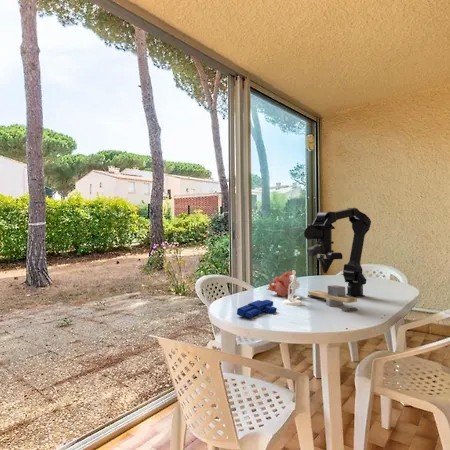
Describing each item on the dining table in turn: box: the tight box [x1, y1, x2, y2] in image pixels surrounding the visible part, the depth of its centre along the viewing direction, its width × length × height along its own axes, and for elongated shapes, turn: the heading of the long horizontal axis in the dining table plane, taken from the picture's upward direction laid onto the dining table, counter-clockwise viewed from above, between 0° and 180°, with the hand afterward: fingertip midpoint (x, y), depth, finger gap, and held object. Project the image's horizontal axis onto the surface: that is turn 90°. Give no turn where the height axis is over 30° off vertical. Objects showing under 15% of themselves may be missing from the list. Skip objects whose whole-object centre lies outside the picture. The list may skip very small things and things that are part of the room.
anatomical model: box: [266, 270, 297, 297], centre depth 170 cm, size 10×12×15 cm
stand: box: [307, 294, 359, 313], centre depth 152 cm, size 7×29×2 cm, turn 17°
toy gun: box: [236, 299, 277, 319], centre depth 139 cm, size 4×22×10 cm
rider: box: [327, 285, 347, 297], centre depth 148 cm, size 4×7×4 cm, turn 17°
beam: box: [307, 290, 358, 304], centre depth 152 cm, size 5×30×2 cm, turn 17°
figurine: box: [282, 269, 303, 307], centre depth 154 cm, size 9×9×15 cm
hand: (325, 273), depth 156 cm, fingers closed
